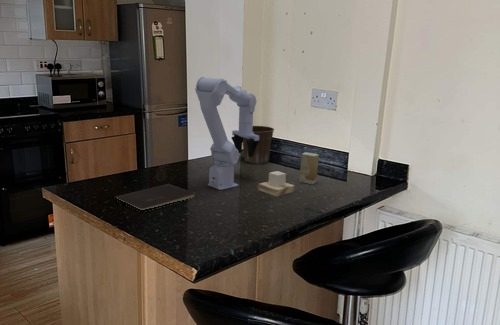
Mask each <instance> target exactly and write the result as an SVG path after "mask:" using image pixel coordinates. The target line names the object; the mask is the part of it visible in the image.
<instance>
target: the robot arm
mask: <svg viewBox="0 0 500 325" xmlns="http://www.w3.org/2000/svg"><path fill="white" fill-rule="evenodd" d="M194 89H195V90H194V91H195V93H196V97H197V98H198V101H199V106H200V111H201V113H202V116H203V118H204V120H205V123H206V126H207V128H208V132H209V134H210V138H211V140H212V142H213V143H212V144H211V146H210V148H209V150H210V152H211V153H210V156H211V160H212V161H213V163H214V165H211V167H209V172H208V177H209V178H208V184H207V186H209V187H212V188H214V189H217V190H220V191H222V190H227V189H230V188H235V187H238V186H239V184H238V183H235V176H234V175H235V165H236V164H237V162H238V161H239V158H240V154H241V153H242V152H243V151H242V150H243V139H244V138H248V139H250V140H246V142H247V145H248V156H249V157H253V155H254V152H255V149H256V147H257V145H258V143H259V136H258V135H256V134H254V132H252V130H253V126H254V125H253V124H254V112H255V110H256V109H255V108H256V104H257V98H256V96H255V95H254V94H253V93H249V92H248V91H247V90H245V89H242V87H241V86H233V85H231V84H229V83H228V81H227V79H224V78H211V77H205V76H202V77H199V78H198V79H197V81H196V84H195V88H194ZM225 95H227V96H228V97H229V99H230V101H232V102H234V103H236V105H237V107H238V110H239V111H238V112H239V113H238V130H236V129H235V130H232V131H231V134H232V136H231V140H232V142H231V141H230V140H229V139H228V136H227V134H226V131H225V128H224V125H223V122H222V120H221V117H220V113H219V111H218V108H217V107H218V106H220V105H221V104H222V101H223V99H224V97H225Z"/></svg>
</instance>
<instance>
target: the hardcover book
mask: <svg viewBox="0 0 500 325" xmlns="http://www.w3.org/2000/svg"><path fill="white" fill-rule="evenodd" d="M195 195H196V193H195V192H193V191H190V190H187V189H186V188H185V189H184V188H183V187H179V186H177V185H173V184H171V183H168V184H163V185H159V186H153V187H150V188H146V189H142V190H137V191H133V192H129V193H126V194H125V193H124V194H121V195H118V196H117V195H116V196H115V198H117V199H119V200H121V201H123V202H126V203H128V204H130V205H132V206H134V207H136V208H138V209H140V210H145V209H149V208H154V207H158V206H162V205H165V204H169V203H173V202H177V201H181V202H183V201H182V200H184V201H187V200H186V199H188V200H190V199H189V198H191V199H194V198H195ZM193 197H194V198H193ZM115 198H114V199H115ZM177 203H178V202H177Z"/></svg>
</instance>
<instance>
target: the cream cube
mask: <svg viewBox="0 0 500 325" xmlns="http://www.w3.org/2000/svg"><path fill="white" fill-rule="evenodd" d="M286 179H287V173H284V172H282V171H279V170H277V171H276V170H275V171H272V172H269V173H268V181H269V185H272V186H275V187H279V186H284V185H285V182H286ZM286 183H287V182H286Z"/></svg>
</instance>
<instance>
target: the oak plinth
mask: <svg viewBox="0 0 500 325" xmlns="http://www.w3.org/2000/svg"><path fill="white" fill-rule="evenodd" d="M257 185H258V186H257V190H258V191H260V192H263V193H265V194H268V195H271V196H273V197H280V196H284V195H286V194H287V195H288V194H291V193H295V191H296V190H295V189H296V188H295V187H296V185H295V184H291V183H288V182H285V185H284V186H279V187H275V186H272V185H269V180H268V181H265V182H261V183H258V184H257Z"/></svg>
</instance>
